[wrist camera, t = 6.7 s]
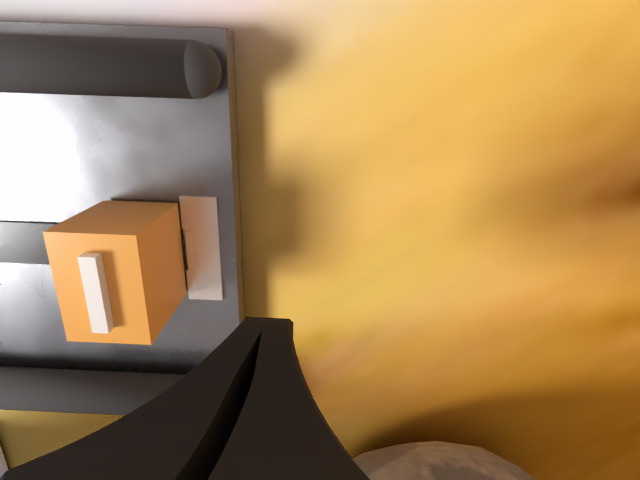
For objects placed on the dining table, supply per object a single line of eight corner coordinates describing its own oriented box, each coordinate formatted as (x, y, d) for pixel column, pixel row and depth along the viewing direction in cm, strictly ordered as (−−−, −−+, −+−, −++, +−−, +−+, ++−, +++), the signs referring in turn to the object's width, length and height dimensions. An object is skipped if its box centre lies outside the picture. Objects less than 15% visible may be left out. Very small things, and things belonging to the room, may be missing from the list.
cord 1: (242, 399, 22) (234, 429, 20) (-56, 386, 22) (-93, 414, 20) (241, 368, 21) (232, 396, 19) (-68, 354, 21) (-107, 381, 19)
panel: (247, 391, 23) (242, 409, 22) (-35, 378, 23) (-56, 395, 22) (232, 31, 16) (224, 27, 15) (-159, 19, 17) (-199, 14, 15)
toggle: (186, 293, 19) (146, 351, 15) (118, 290, 19) (60, 347, 15) (177, 203, 18) (130, 239, 13) (104, 200, 18) (34, 235, 13)
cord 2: (228, 98, 16) (215, 101, 14) (-168, 85, 16) (-232, 85, 15) (226, 43, 15) (211, 37, 14) (-189, 29, 16) (-259, 22, 14)
